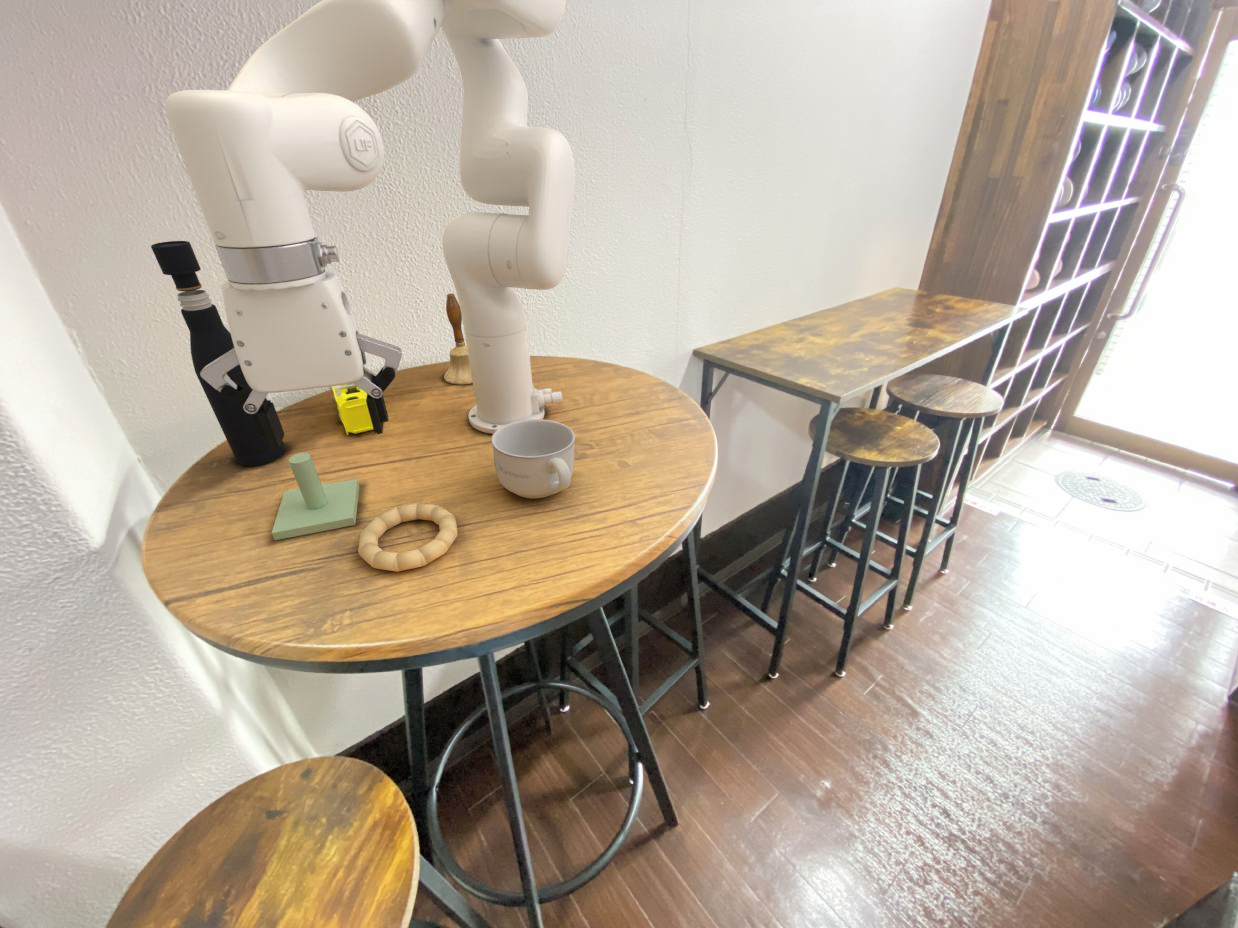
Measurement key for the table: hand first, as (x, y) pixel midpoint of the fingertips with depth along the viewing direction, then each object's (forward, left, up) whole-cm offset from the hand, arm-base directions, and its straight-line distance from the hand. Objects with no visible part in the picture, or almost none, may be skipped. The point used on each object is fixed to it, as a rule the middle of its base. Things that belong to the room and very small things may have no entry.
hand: (330, 435), depth 56 cm
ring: (-5, +1, -14) cm, 15 cm away
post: (+6, -9, -15) cm, 18 cm away
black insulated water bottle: (+16, -27, -15) cm, 35 cm away
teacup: (-22, -4, -15) cm, 27 cm away
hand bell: (-16, -47, -15) cm, 52 cm away
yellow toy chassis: (+3, -36, -15) cm, 39 cm away
